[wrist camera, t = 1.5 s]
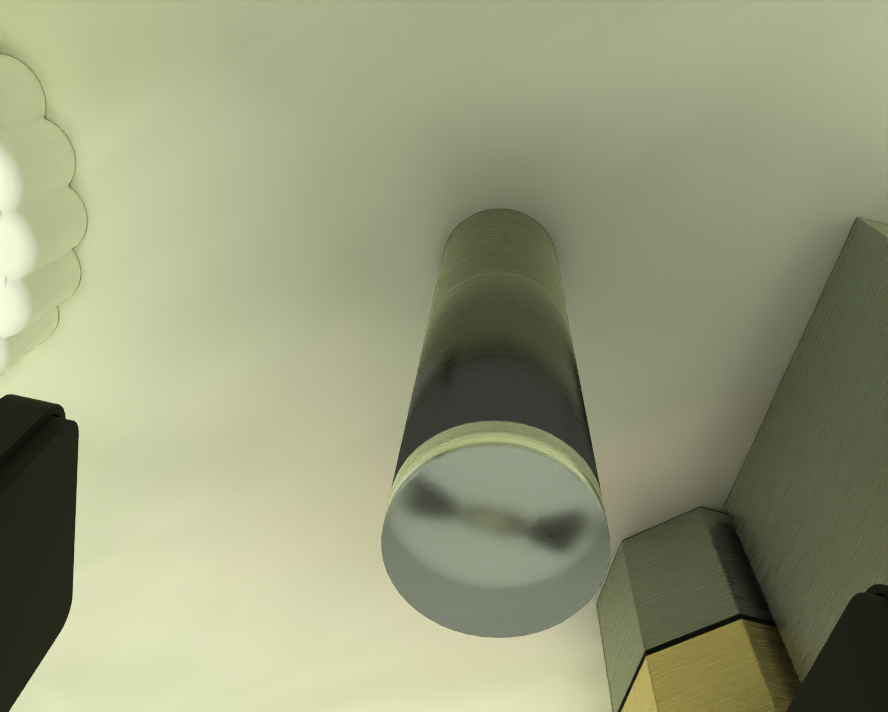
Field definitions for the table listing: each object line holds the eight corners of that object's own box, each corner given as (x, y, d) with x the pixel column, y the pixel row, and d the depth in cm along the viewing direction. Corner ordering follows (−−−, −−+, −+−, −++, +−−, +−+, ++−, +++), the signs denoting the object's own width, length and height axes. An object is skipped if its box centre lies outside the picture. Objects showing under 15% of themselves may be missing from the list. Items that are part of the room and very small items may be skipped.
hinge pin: (570, 224, 21) (641, 483, 10) (538, 327, 22) (571, 657, 11) (457, 196, 21) (406, 428, 10) (432, 302, 22) (362, 610, 11)
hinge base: (997, 252, 20) (1335, 435, 12) (760, 686, 27) (874, 999, 19) (761, 193, 20) (941, 340, 12) (579, 645, 27) (613, 944, 18)
